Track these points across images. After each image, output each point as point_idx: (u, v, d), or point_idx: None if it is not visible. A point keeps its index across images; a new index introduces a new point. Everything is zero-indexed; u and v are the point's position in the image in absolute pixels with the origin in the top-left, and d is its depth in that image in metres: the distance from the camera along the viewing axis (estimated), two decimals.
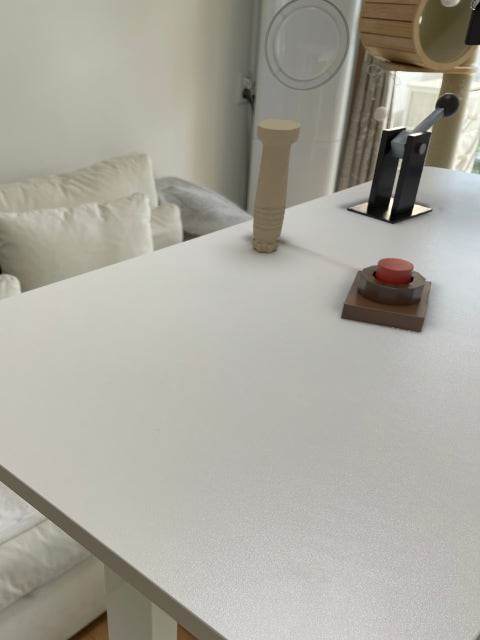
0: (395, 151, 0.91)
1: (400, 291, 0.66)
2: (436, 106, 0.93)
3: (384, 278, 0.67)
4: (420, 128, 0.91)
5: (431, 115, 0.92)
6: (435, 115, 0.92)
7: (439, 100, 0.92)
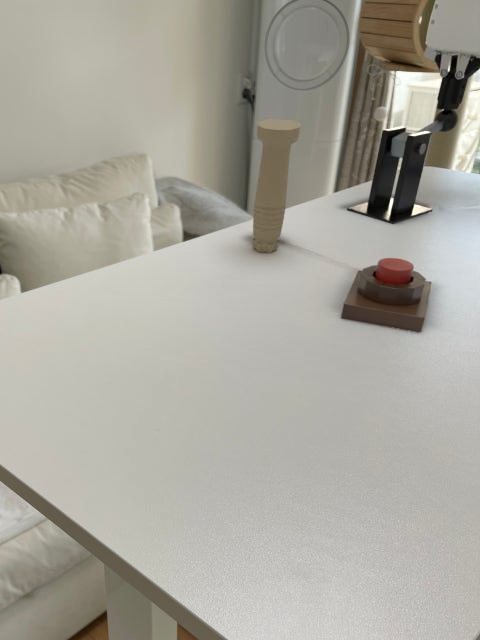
0: (395, 149, 0.90)
1: (400, 291, 0.66)
2: (435, 119, 0.94)
3: (384, 278, 0.67)
4: None
5: (431, 125, 0.93)
6: (435, 125, 0.93)
7: (439, 113, 0.94)
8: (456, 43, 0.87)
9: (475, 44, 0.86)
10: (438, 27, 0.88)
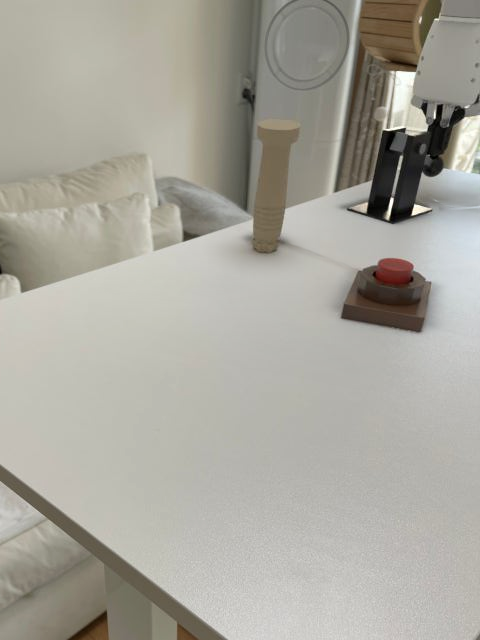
0: (396, 142, 0.90)
1: (400, 291, 0.66)
2: None
3: (384, 278, 0.67)
4: None
5: None
6: (427, 156, 0.95)
7: (429, 155, 0.97)
8: (441, 94, 0.91)
9: (459, 96, 0.89)
10: (424, 78, 0.92)
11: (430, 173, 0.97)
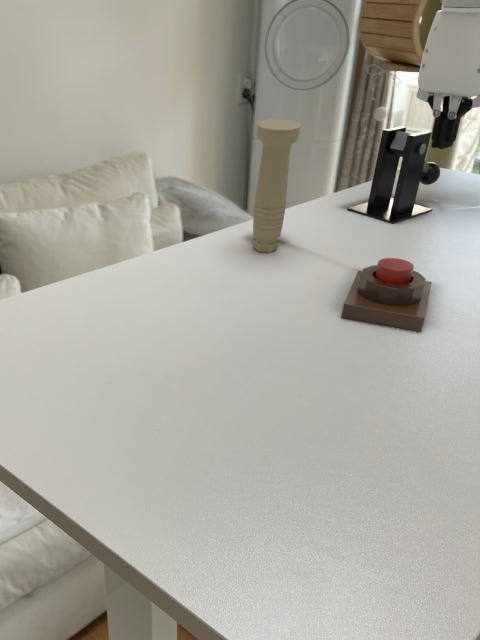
0: (397, 141, 0.90)
1: (400, 291, 0.66)
2: None
3: (384, 278, 0.67)
4: None
5: None
6: None
7: None
8: (447, 86, 0.90)
9: (465, 87, 0.88)
10: (429, 70, 0.91)
11: (426, 180, 0.97)
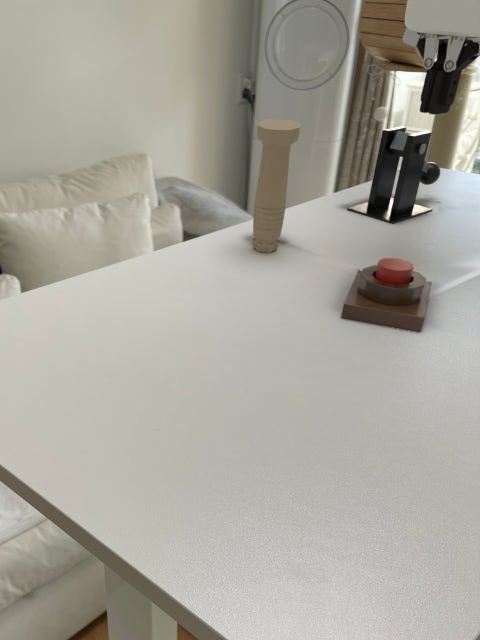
0: (397, 141, 0.90)
1: (400, 291, 0.66)
2: None
3: (384, 278, 0.67)
4: None
5: None
6: None
7: None
8: (445, 22, 0.63)
9: (471, 22, 0.62)
10: (420, 0, 0.64)
11: (426, 180, 0.97)
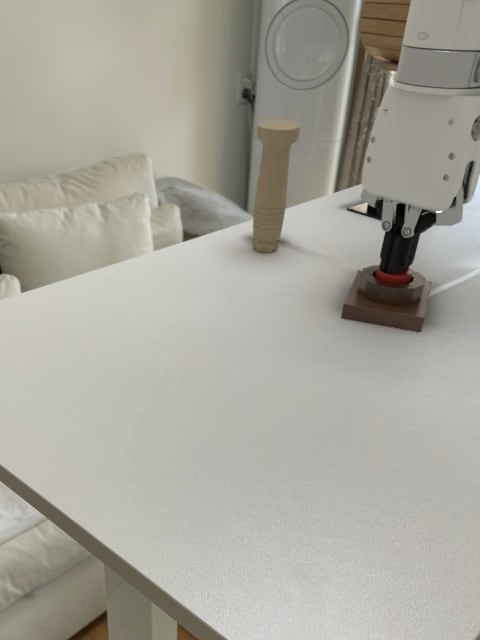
0: None
1: (400, 291, 0.66)
2: None
3: None
4: None
5: None
6: None
7: None
8: (401, 193, 0.62)
9: (426, 198, 0.60)
10: (376, 167, 0.63)
11: None
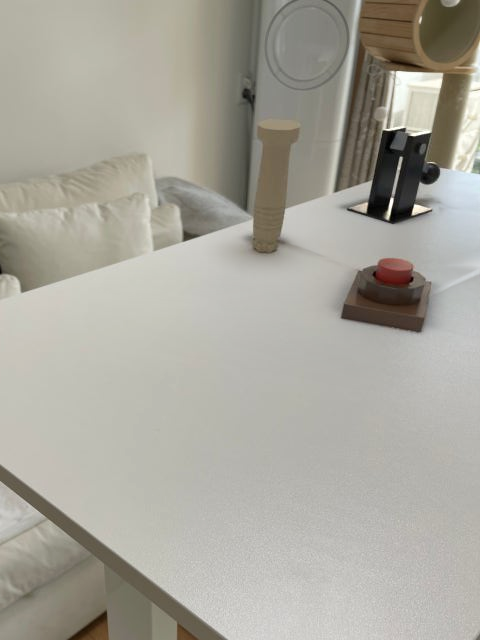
0: (397, 141, 0.90)
1: (400, 291, 0.66)
2: None
3: (384, 278, 0.67)
4: None
5: None
6: None
7: None
8: None
9: None
10: None
11: (426, 180, 0.97)
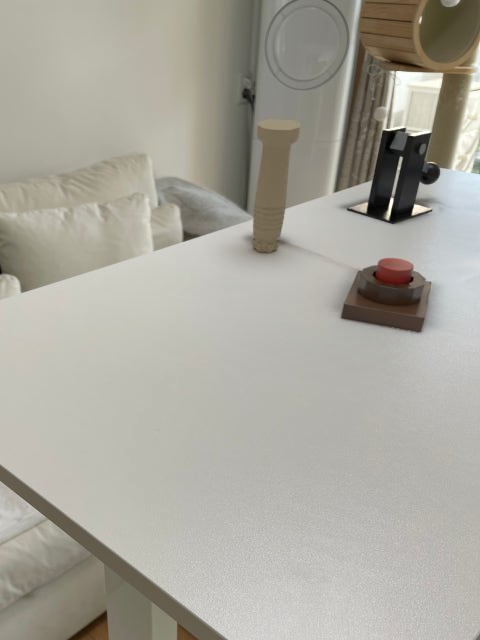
0: (397, 141, 0.90)
1: (400, 291, 0.66)
2: None
3: (384, 278, 0.67)
4: None
5: None
6: None
7: None
8: None
9: None
10: None
11: (426, 180, 0.97)
